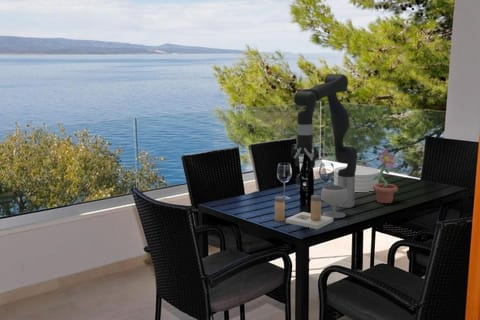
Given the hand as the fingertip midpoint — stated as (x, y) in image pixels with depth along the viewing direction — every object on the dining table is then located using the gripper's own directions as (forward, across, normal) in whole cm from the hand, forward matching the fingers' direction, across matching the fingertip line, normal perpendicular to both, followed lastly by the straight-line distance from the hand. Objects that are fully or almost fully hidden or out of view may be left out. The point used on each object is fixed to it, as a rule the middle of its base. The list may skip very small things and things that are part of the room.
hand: (304, 166), depth 257 cm
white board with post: (+29, 0, -6) cm, 30 cm away
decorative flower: (+30, -12, -65) cm, 73 cm away
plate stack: (+30, +17, -88) cm, 95 cm away
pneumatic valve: (+30, +36, -59) cm, 75 cm away
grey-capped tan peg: (+29, +14, 0) cm, 32 cm away
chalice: (+30, -3, -24) cm, 38 cm away
